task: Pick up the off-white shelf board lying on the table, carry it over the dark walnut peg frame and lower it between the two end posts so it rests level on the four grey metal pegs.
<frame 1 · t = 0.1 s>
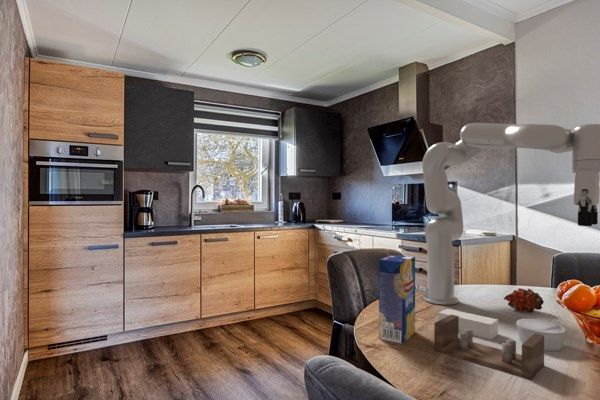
hand: (587, 225, 110), 31 cm above the table, tool pointing down, fingers open, 9 cm apart
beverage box: (397, 335, 107), on the table
dragon fruit: (523, 311, 129), on the table
peg frame: (486, 357, 92), on the table
shelf board: (467, 331, 111), on the table
ramekin: (540, 345, 100), on the table
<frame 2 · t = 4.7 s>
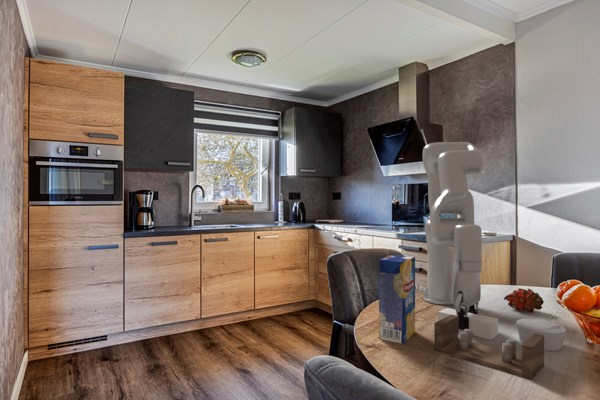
hand: (467, 326, 110), 1 cm above the table, tool pointing down, fingers closed on shelf board, 6 cm apart
shelf board: (467, 330, 110), on the table, touching gripper
everything else where it was.
when the fingers open (7 cm above the table, at t = 9.2 s): shelf board drops 1 cm, resting on peg frame.
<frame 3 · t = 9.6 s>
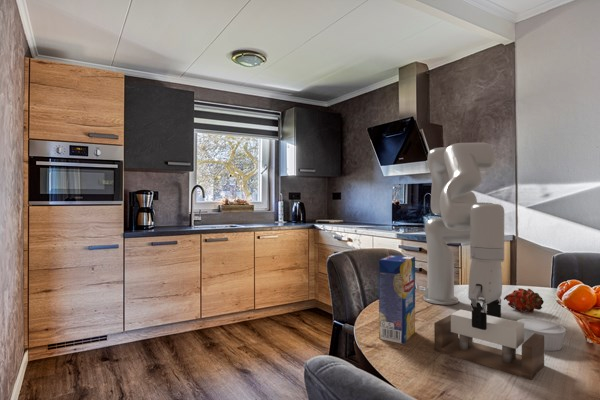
hand: (486, 323, 92), 8 cm above the table, tool pointing down, fingers open, 9 cm apart
shelf board: (486, 336, 92), point 5 cm above the table, touching peg frame
everything else where it was.
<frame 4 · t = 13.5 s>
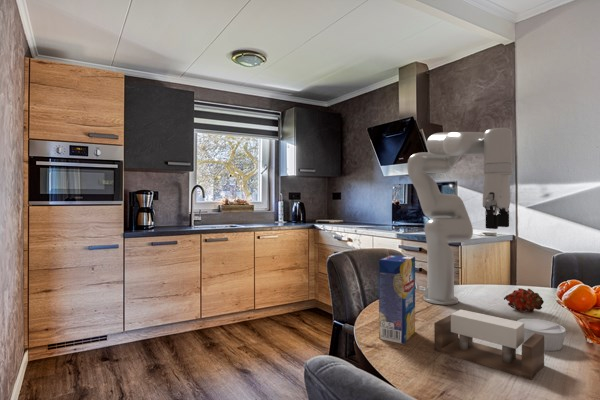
hand: (497, 227, 111), 30 cm above the table, tool pointing down, fingers open, 9 cm apart
nothing on the table moved.
at the end: shelf board 0.2 cm off-centre on the peg frame, point 5.0 cm above the peg frame's base; shelf board tilted 0°; shelf board touching peg frame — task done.
